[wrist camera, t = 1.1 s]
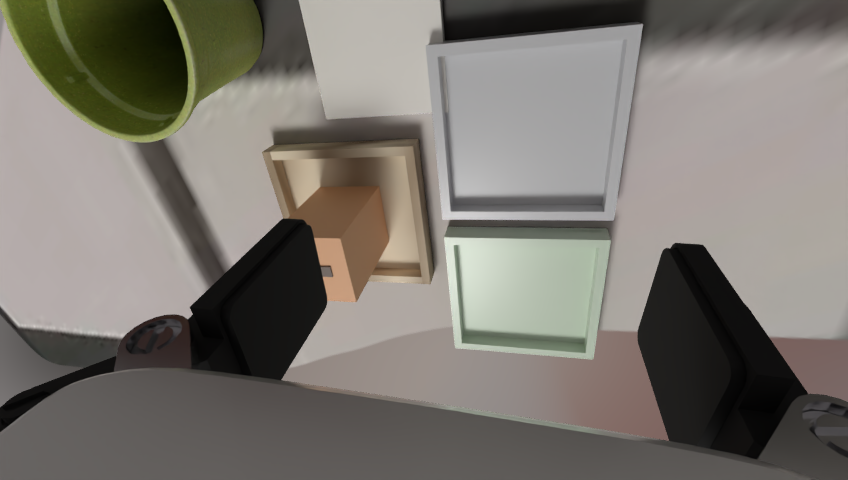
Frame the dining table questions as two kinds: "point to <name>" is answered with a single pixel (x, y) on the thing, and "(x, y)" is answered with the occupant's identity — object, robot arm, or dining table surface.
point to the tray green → (527, 288)
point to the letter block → (346, 236)
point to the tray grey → (533, 122)
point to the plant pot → (135, 56)
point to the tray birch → (364, 166)
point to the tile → (373, 55)
